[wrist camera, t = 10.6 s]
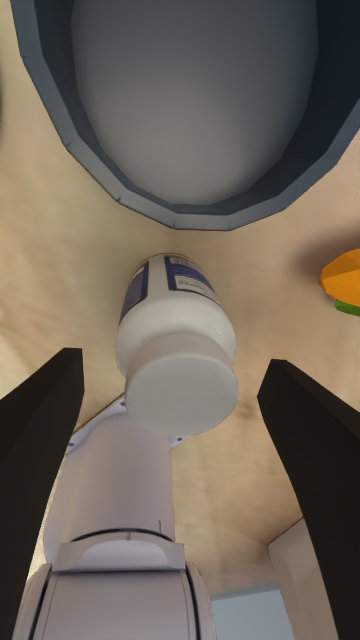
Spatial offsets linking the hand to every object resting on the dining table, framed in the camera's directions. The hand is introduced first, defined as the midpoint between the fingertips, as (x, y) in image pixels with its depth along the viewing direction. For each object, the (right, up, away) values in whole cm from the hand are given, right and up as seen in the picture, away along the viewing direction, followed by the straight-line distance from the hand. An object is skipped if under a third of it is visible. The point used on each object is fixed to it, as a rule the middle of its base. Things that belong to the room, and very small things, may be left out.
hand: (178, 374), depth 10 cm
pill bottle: (-1, +4, +8) cm, 9 cm away
